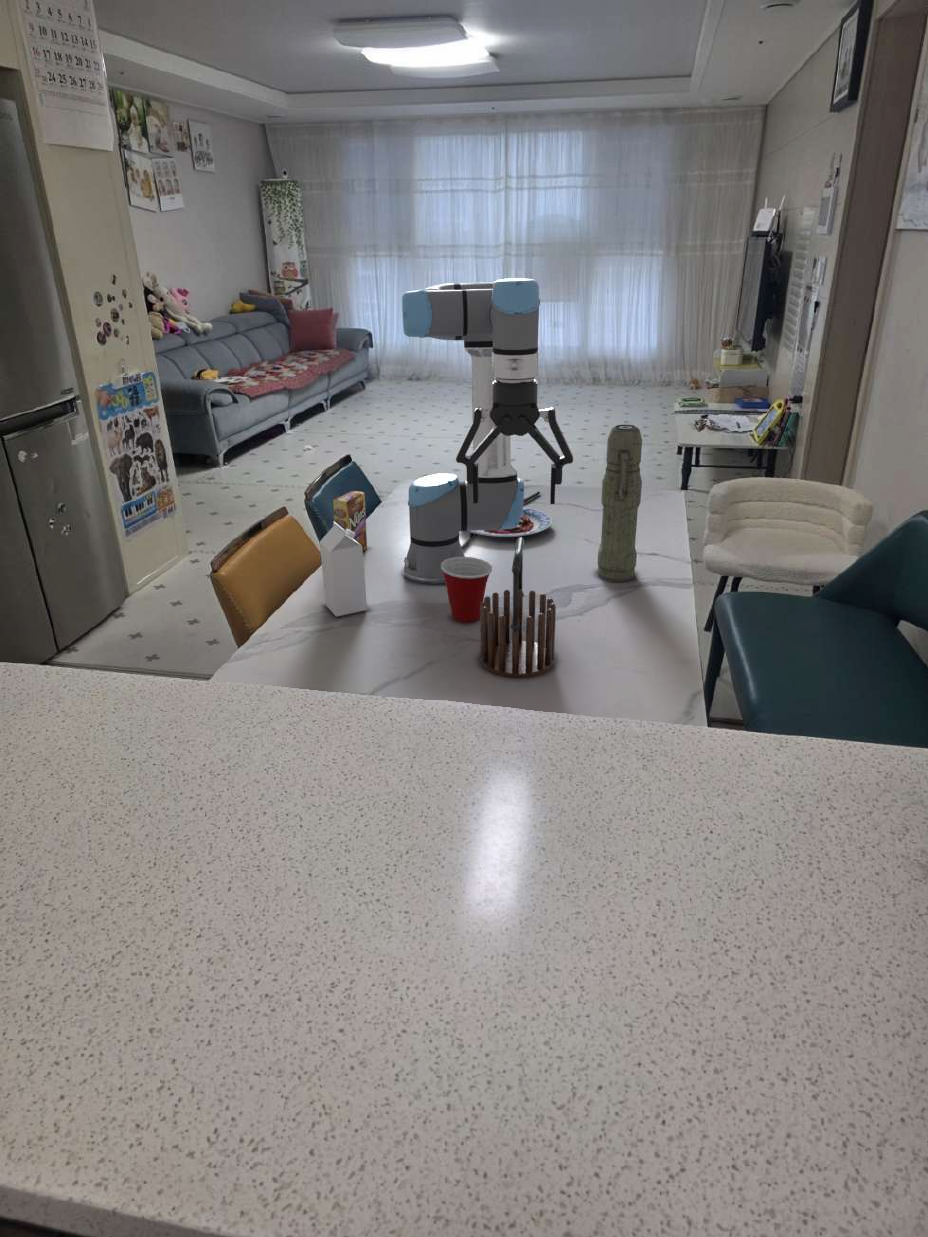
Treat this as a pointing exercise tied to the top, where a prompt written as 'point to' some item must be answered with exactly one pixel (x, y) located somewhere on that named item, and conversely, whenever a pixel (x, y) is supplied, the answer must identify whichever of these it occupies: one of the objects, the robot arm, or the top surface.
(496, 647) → the basket
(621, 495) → the thermos
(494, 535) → the ceramic plate
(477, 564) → the plastic cup
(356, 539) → the candy box
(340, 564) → the milk carton
